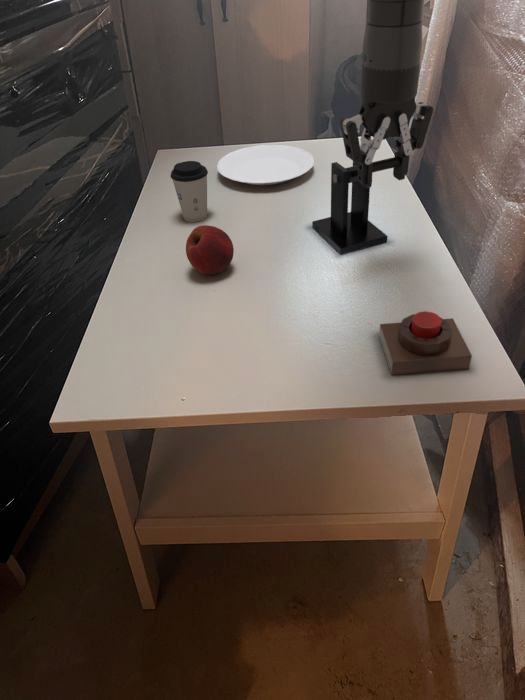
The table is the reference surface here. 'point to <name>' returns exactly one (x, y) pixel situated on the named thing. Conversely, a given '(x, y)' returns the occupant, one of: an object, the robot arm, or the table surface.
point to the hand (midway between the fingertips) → (382, 181)
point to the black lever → (374, 167)
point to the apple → (209, 249)
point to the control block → (423, 348)
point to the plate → (265, 164)
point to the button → (426, 325)
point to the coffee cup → (191, 189)
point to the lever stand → (348, 215)
